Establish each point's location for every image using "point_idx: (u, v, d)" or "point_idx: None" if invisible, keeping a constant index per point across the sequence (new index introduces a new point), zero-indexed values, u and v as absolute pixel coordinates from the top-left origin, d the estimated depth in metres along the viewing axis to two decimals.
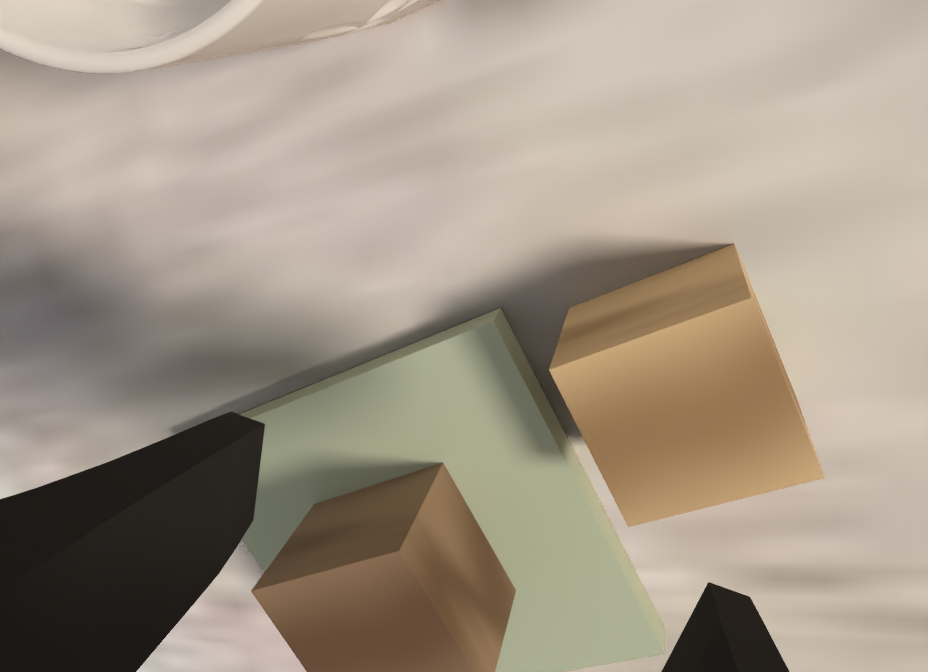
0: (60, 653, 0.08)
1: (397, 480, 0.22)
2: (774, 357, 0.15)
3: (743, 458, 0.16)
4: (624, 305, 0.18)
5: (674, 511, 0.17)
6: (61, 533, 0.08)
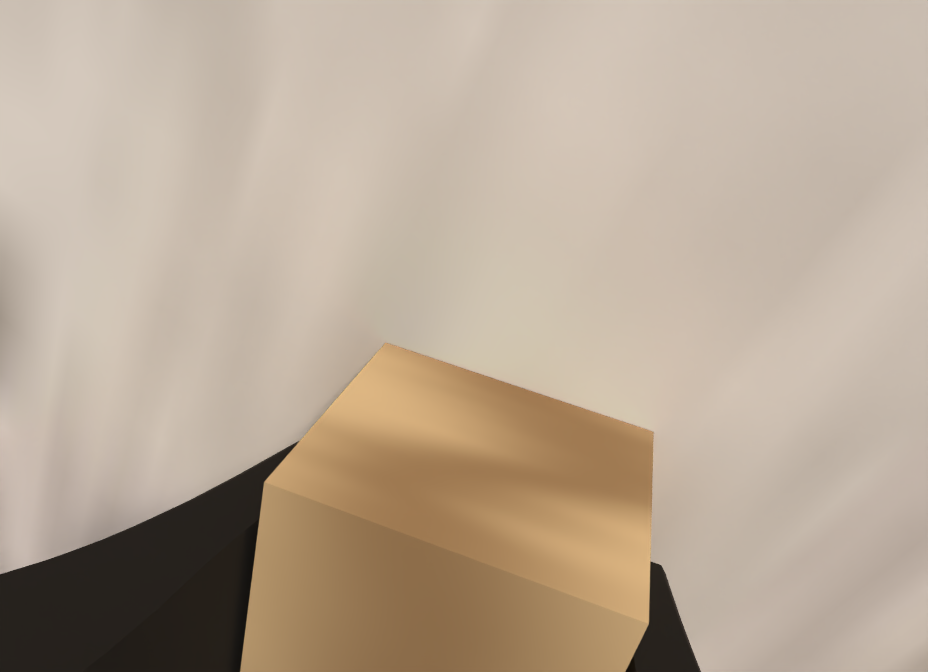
0: None
1: None
2: (377, 526, 0.08)
3: None
4: None
5: None
6: (168, 575, 0.07)
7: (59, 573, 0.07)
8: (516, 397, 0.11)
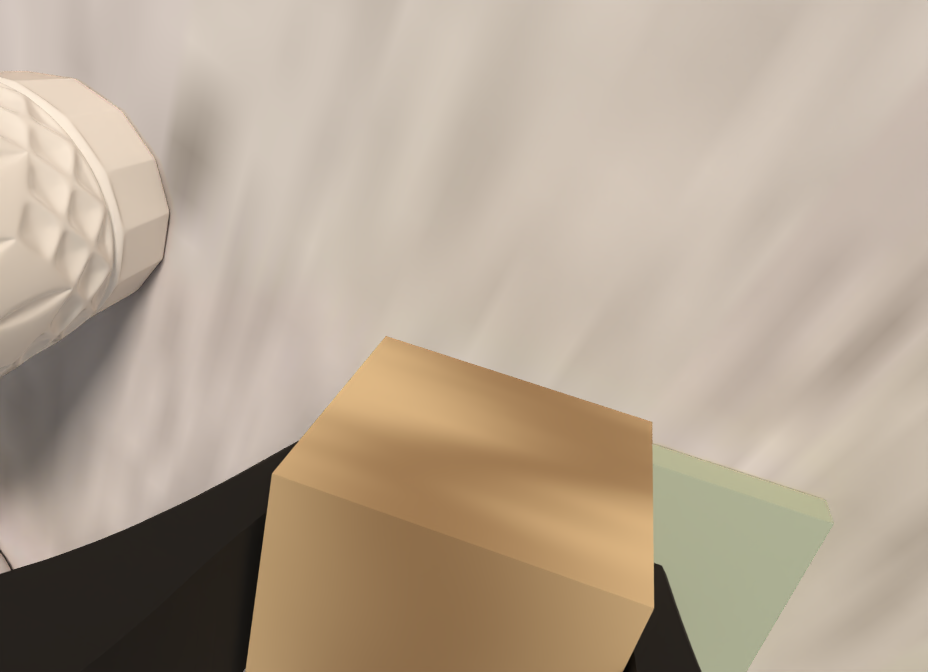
0: None
1: None
2: (385, 515, 0.08)
3: (531, 661, 0.08)
4: None
5: None
6: (167, 575, 0.07)
7: (58, 572, 0.07)
8: (517, 389, 0.11)
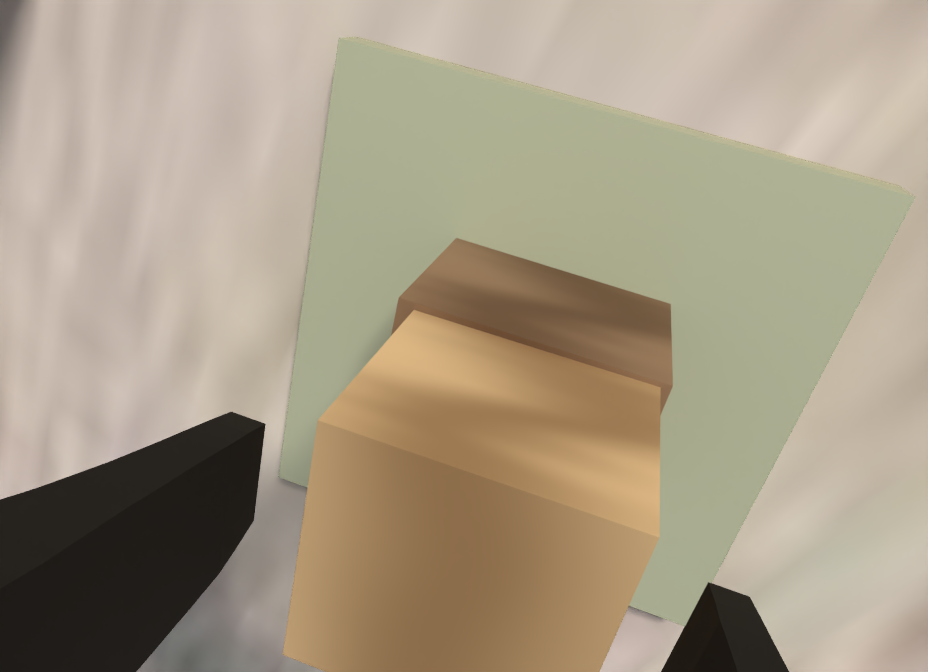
0: (60, 653, 0.08)
1: None
2: (419, 457, 0.09)
3: (549, 591, 0.09)
4: None
5: None
6: (61, 533, 0.08)
7: None
8: (535, 357, 0.12)
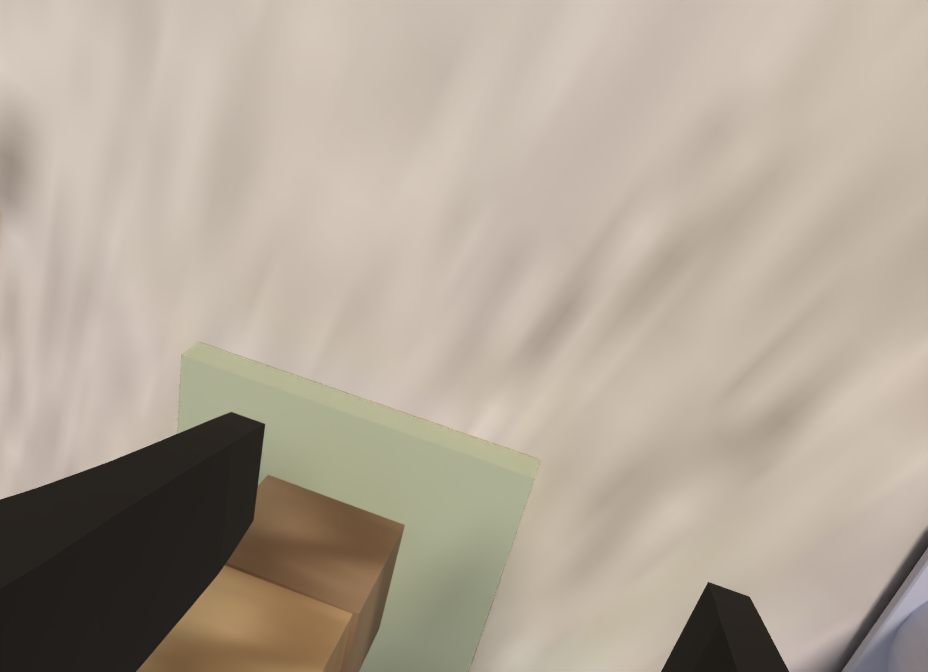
0: (61, 653, 0.08)
1: None
2: None
3: None
4: None
5: None
6: (62, 533, 0.08)
7: None
8: (276, 595, 0.20)
